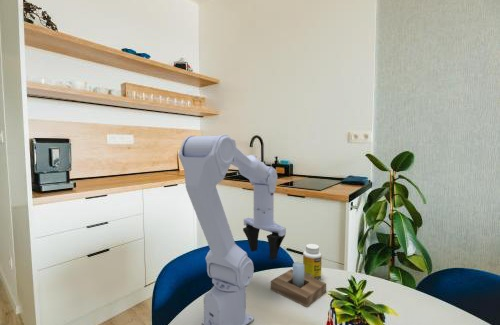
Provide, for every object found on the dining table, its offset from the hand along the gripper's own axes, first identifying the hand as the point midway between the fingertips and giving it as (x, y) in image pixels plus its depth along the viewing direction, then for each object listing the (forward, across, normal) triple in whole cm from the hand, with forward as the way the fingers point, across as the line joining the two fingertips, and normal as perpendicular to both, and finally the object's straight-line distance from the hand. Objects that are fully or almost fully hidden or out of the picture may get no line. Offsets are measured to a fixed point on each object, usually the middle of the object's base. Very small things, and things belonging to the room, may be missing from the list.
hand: (263, 254), depth 74 cm
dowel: (+9, -8, -6) cm, 14 cm away
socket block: (+10, -8, -6) cm, 14 cm away
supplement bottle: (+10, -7, -15) cm, 19 cm away
